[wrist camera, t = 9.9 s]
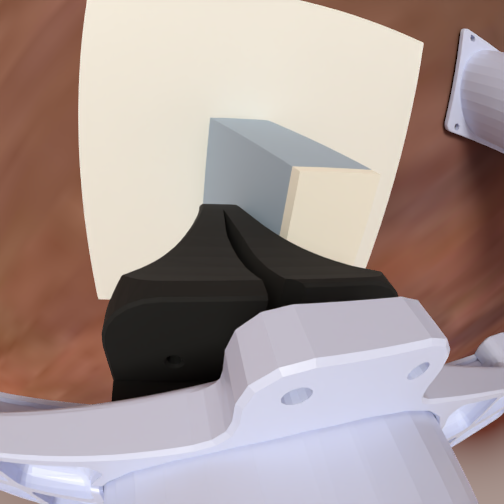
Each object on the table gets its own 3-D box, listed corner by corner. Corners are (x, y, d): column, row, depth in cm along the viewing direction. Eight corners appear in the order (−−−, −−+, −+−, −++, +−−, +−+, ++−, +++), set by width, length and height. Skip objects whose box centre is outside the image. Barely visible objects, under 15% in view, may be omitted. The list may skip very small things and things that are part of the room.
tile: (413, 42, 14) (423, 43, 14) (350, 285, 24) (355, 293, 23) (94, -6, 10) (88, -10, 9) (100, 289, 20) (98, 299, 19)
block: (268, 120, 15) (380, 174, 9) (252, 226, 18) (333, 320, 12) (210, 117, 14) (300, 171, 8) (201, 230, 17) (265, 338, 11)
